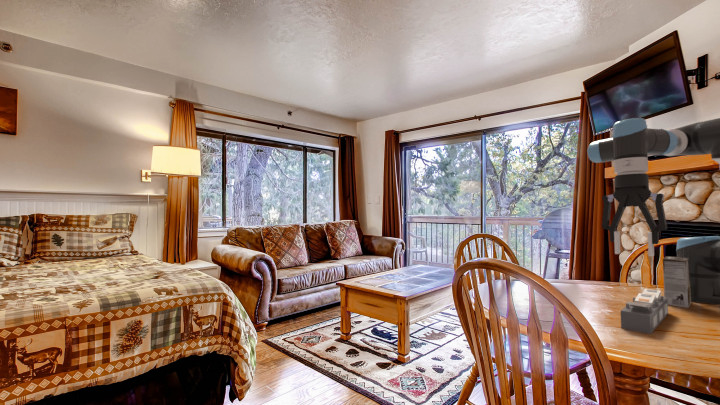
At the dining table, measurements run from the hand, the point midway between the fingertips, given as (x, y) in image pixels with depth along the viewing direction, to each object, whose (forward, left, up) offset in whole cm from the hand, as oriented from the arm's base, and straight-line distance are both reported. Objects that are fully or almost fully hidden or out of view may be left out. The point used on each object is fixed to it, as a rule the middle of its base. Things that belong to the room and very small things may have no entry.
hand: (634, 254), depth 94 cm
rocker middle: (-12, 0, -15) cm, 19 cm away
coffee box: (-42, +4, -21) cm, 47 cm away
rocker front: (-3, 0, -15) cm, 15 cm away
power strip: (-12, 0, -21) cm, 24 cm away
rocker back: (-20, 0, -15) cm, 25 cm away
